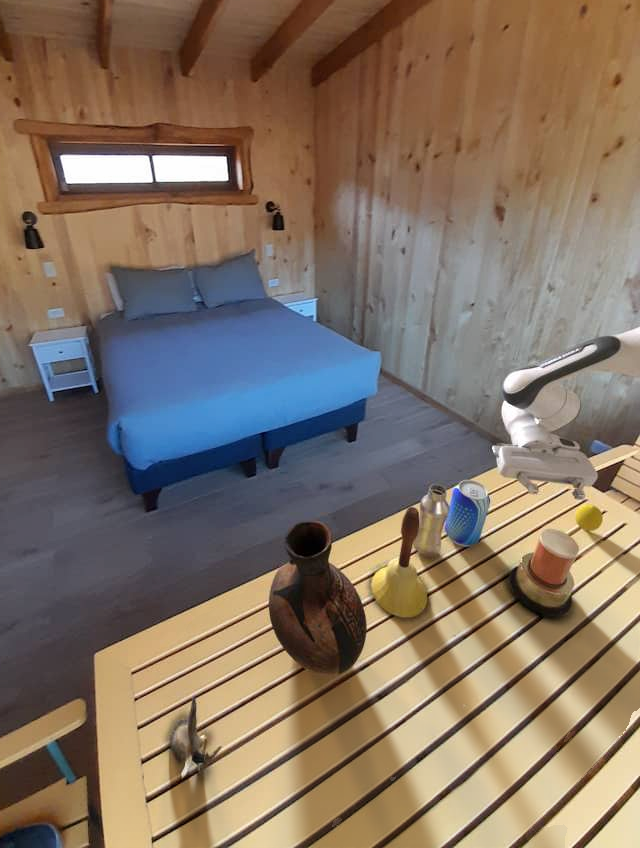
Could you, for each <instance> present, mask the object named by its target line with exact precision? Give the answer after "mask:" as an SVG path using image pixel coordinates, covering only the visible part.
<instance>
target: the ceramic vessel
mask: <svg viewBox="0 0 640 848" xmlns="http://www.w3.org/2000/svg"><path fill="white" fill-rule="evenodd" d="M283 544H284V549H285V551H286V553H287V556H288V557H289V561H286V562H285V563H283V564H282V565H281V566H280V567H279V568H278V570H277V571H276V573H275V574H274V577H273V579H272V582H271V585H270V589H269V595H268V613H269V620H270V624H271V626H272V630H273V632H274V634H275V636H276V639H277V641H278V642H279V643H280V645H281V648H283V649H284V651H285V652H286V654H287V655H289V656H290V657H291V659H292V660H293V661H294V662H296V663H297V664H298V665H299V666H300V667H301V668H303V669H305V670H306V671H309V672H311V673H314V674H317V675H321V676H336V675H337V676H338V675H341V674H343V673H345V672H347V671H349V670H350V669H351V668H352V667H353V666H354V665H355V664H356V663H357V661H358V659H359V658H360V656H361V654H362V652H363V650H364V646H365V644H366V638H367V629H368V627H367V616H366V611H365V608H364V605H363V602H362V598H361V596H360V595H359V593H358V591H357V589H356V587H355V586H354V585H353V583H352V582H351V580H350V578H348V577H347V575H345V573H344V572H343V571H341V570H340V569H339V568H338V567H337V566H335V565H334V564H332V563H331V562H330V561H329V559H330V554H331V553H332V552H331V551H332V549H333V547H332V546H333V539H332V533H331V531H330V529H329V528H328V526H326V525H325V523H322V522H321V521H317V520H308V521H300V522H297V523H296V524H294V525H293V526H292V527H290V528H289V530H288V532H287V533H286V536H285V538H284V543H283Z"/></svg>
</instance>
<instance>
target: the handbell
mask: <svg viewBox="0 0 640 848" xmlns="http://www.w3.org/2000/svg"><path fill="white" fill-rule="evenodd" d="M419 518H420V511H419V510H418V509H417V508H416V507H414V506H410V507H408V508H407V509H406V510H405V513H404V515H403V517H402V520H401V526H400V534H401V539H402V540H401V547H400V551H399V558H394V559H392V560H391V561H389V562H388V564H387V566H384V567H382V568H380V569H379V570H378V571H376V572H375V574H374V576H373V577H372V579H371V585H370V587H371V591H372V595H373V597H374V599H375V601H376V603H377V604H378V605H379V606H380V607H381V608H382V609H383V610H384V611H386V612H387V613H389V614H390V615H393V616H396V617H399V618H412V617H416V616H418V615H420V614H421V613H422V612H423V611H424V610H425V608H426V606H427V604H428V592H427V590H426V587H425V585H424V583H423V582H422V580H421V579H420V577H418V572H417V568H416V567H415V566H414V564H413V563H412V562H410V560H411V555H412V551H413V550H412V549H413V541H414V540H415V539H416V537H417V535H418V531H419V524H420V522H419Z"/></svg>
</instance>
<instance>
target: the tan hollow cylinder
mask: <svg viewBox="0 0 640 848" xmlns="http://www.w3.org/2000/svg"><path fill="white" fill-rule="evenodd" d="M533 554H534V552H528V553H525V554H524V555H523V556H522V557H521V559H520V561H519V563H518V565H516V566H515V567H513V568H512V569H511V570H510V572H509V576H508V579H507V584H508V589H509V591H510V593H511V595H512V596H513V598H514V599H515V600H516V601H517V603H518V604H519V605H520V606H521V607H522V608H524V609H525V610H527V611H528V612H530V613H531V614H533V615H535V616H537V617H540V618H543V619H547V620H561V619H563V618H565V617H566V616H567V615H568V614H569V612H570V610H571V608H572V605H573V599H572V595H571V594H572V592H573V590H574V588H575V580H574V577H573V575H572V573H571V571H569V573H568V575H567V577H566V580H565V581H564V582H563V583H562V584H559V585H554V584H550V583H547V582H545V581H543V580H541V579H540V578H538V577H537V576H536V575H535V574H534V573H533V571H532V569H531V567H530V561H531V559H532V556H533Z"/></svg>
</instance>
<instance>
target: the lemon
mask: <svg viewBox="0 0 640 848" xmlns="http://www.w3.org/2000/svg"><path fill="white" fill-rule="evenodd" d="M603 519H604V517H603V513H602V511H601V510H600V508H598V506H595V505H594V504H589V503H585V504H582V505H580V506H579V507H578V508H577V509H576V511H575V514H574V520H575V523H576V524H577V526H578V527H579V528H581V529H582V530H585V531H589V532H592V531H596V530H598V529H599V528H600V527H601V525H602V524H603Z"/></svg>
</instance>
